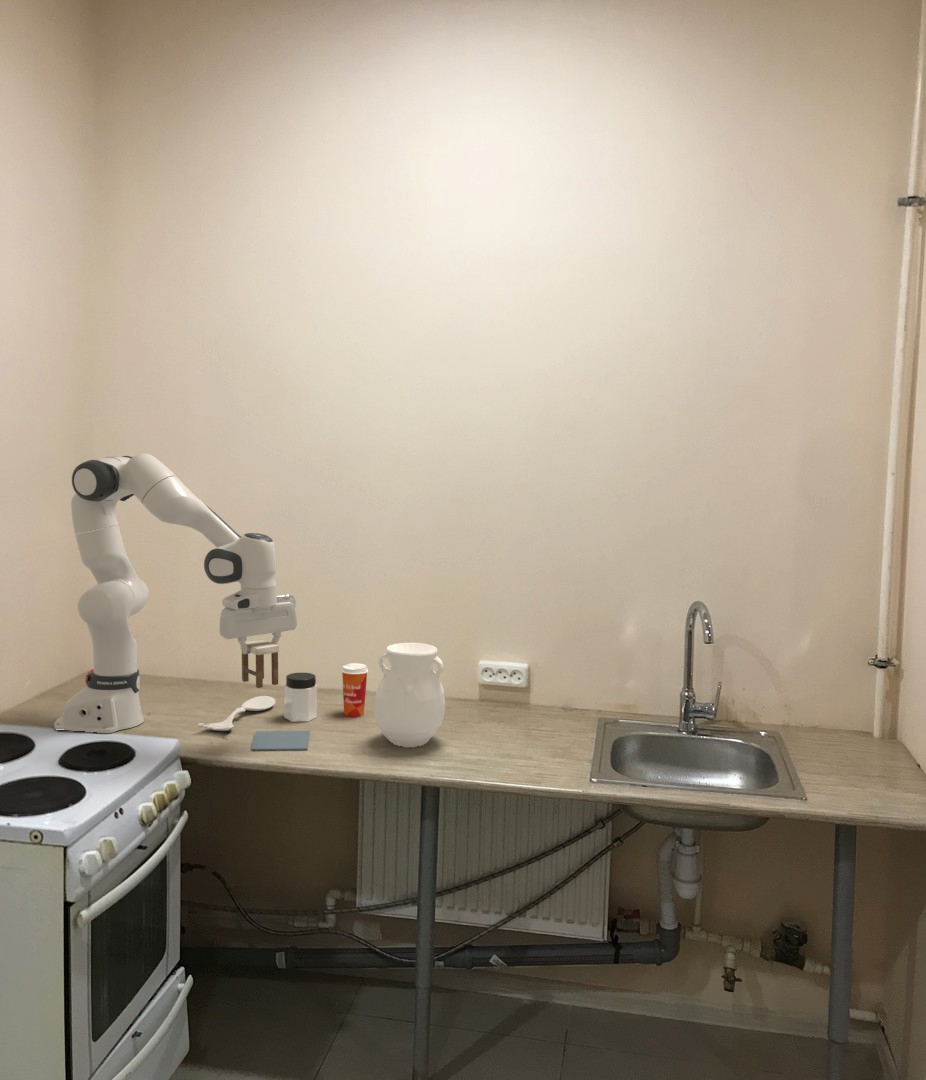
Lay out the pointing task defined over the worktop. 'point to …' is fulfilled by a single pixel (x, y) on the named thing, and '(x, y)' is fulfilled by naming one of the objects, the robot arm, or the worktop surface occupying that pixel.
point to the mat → (280, 740)
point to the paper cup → (354, 689)
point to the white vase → (410, 694)
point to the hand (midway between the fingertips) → (259, 651)
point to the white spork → (251, 704)
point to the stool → (260, 661)
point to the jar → (300, 697)
